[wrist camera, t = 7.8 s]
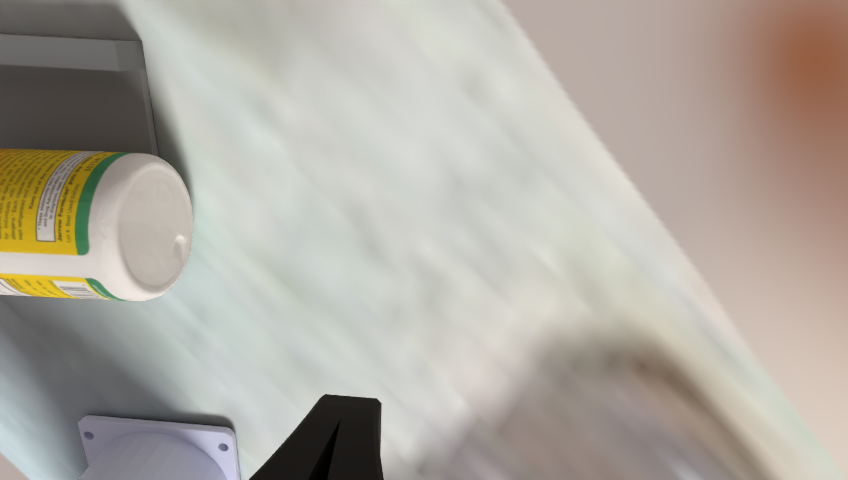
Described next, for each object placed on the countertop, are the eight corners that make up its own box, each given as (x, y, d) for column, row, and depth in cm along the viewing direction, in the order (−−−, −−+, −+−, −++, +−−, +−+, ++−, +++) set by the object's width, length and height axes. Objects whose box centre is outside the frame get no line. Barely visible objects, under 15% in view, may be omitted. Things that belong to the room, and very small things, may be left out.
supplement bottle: (142, 332, 17) (-118, 321, 18) (209, 249, 22) (0, 242, 22) (87, 192, 14) (-220, 183, 15) (176, 130, 19) (-62, 125, 20)
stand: (176, 279, 22) (157, 296, 21) (-58, 262, 23) (-94, 277, 21) (141, 40, 19) (114, 40, 17) (-138, 25, 19) (-187, 24, 18)
